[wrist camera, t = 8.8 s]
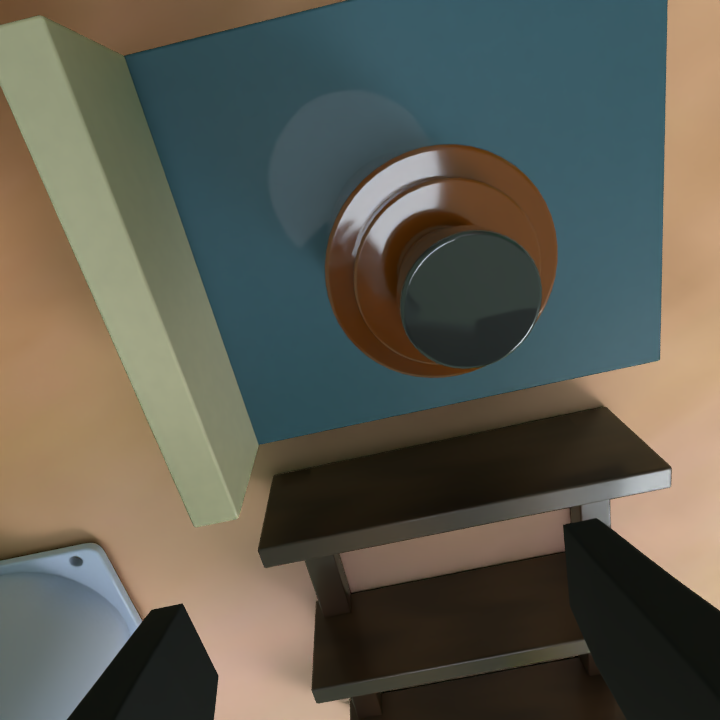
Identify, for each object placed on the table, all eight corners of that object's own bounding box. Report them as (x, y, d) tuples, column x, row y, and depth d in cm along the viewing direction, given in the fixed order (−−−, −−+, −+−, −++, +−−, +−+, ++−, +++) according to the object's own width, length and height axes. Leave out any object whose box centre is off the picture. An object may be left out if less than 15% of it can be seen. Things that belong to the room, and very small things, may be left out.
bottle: (347, 322, 14) (356, 460, 8) (311, 170, 13) (284, 180, 6) (491, 290, 14) (625, 404, 7) (472, 132, 12) (622, 101, 6)
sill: (238, 415, 18) (193, 529, 12) (119, 82, 14) (-27, 30, 8) (618, 334, 17) (749, 415, 12) (612, -40, 13) (810, -184, 8)
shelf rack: (352, 709, 24) (355, 807, 21) (272, 474, 19) (256, 550, 15) (612, 661, 24) (662, 752, 20) (606, 405, 18) (673, 466, 15)
